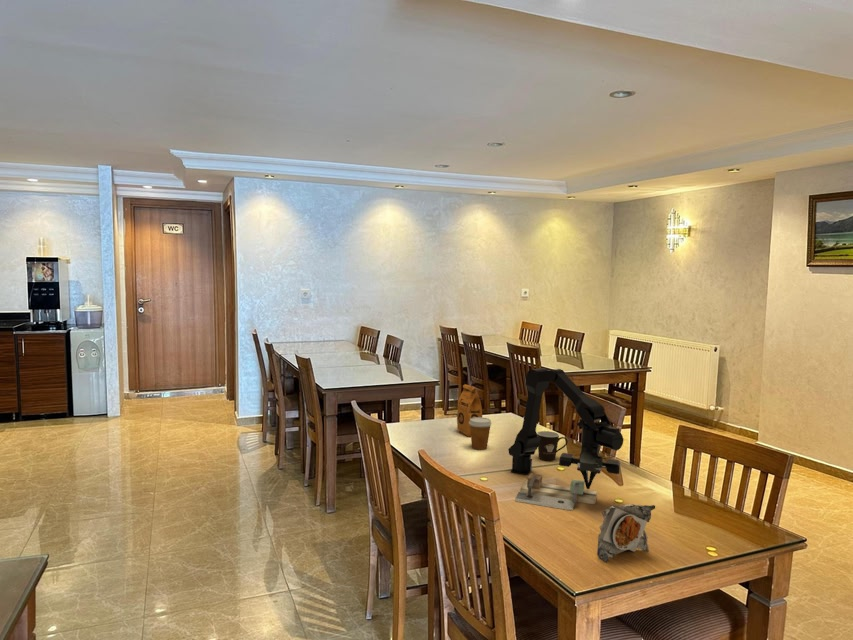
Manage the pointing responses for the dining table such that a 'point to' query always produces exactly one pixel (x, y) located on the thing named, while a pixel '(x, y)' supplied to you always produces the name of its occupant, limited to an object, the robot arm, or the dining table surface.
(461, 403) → the coffee package
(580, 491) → the slider leg
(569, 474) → the dining table surface
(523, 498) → the bolt hole plate
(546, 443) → the coffee mug
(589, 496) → the board
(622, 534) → the meal
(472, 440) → the disposable coffee cup
